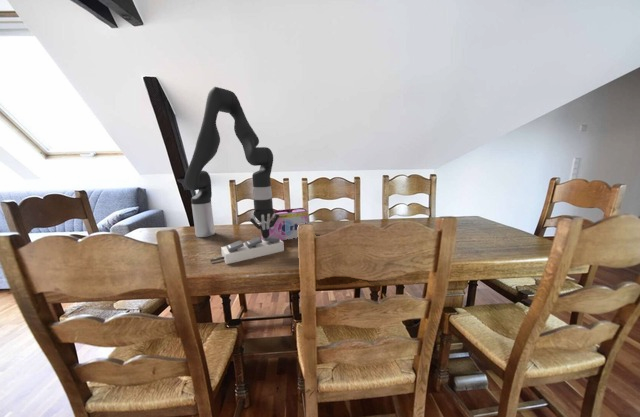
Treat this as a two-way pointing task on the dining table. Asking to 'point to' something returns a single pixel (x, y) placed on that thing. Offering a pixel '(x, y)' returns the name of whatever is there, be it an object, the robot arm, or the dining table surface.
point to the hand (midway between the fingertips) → (265, 237)
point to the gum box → (288, 223)
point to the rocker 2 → (253, 242)
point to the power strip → (250, 251)
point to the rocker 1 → (234, 246)
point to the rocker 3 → (272, 239)
